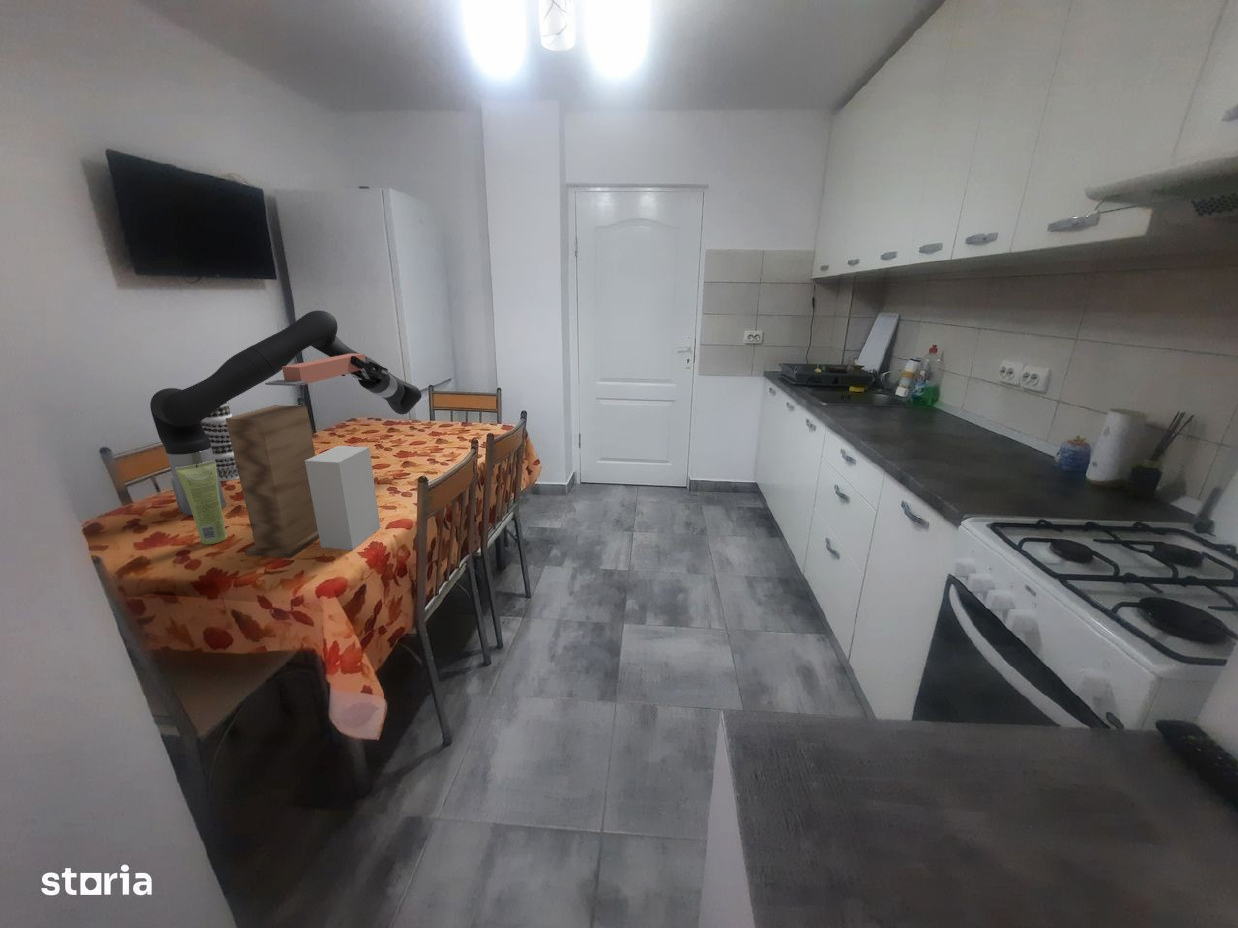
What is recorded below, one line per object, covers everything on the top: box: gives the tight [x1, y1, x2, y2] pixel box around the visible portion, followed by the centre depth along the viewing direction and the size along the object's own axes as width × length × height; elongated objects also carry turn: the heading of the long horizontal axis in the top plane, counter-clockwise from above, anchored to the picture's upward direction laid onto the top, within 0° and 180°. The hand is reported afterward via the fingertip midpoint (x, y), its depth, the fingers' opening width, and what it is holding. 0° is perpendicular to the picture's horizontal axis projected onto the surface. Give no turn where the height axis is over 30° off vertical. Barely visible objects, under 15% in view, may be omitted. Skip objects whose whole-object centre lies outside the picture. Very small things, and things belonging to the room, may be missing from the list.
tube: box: [175, 461, 228, 545], centre depth 116 cm, size 6×5×20 cm
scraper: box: [264, 353, 366, 387], centre depth 121 cm, size 7×30×4 cm, turn 176°
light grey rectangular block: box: [305, 445, 381, 551], centre depth 118 cm, size 8×12×22 cm, turn 175°
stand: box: [225, 404, 320, 559], centre depth 115 cm, size 11×17×32 cm, turn 175°
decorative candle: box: [200, 402, 240, 482], centre depth 155 cm, size 9×9×25 cm
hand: (343, 358), depth 128 cm, fingers closed on scraper, 4 cm apart
